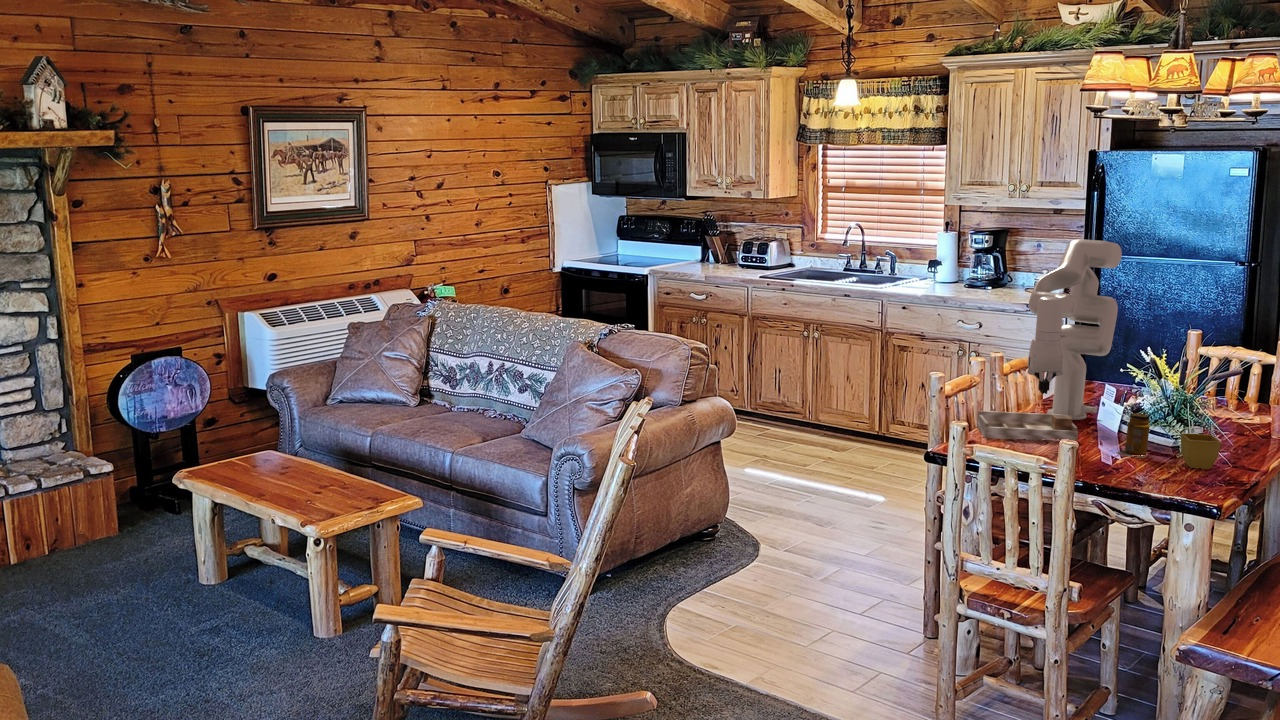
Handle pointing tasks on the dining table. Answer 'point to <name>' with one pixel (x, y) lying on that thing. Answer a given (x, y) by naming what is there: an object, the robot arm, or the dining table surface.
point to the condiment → (1137, 435)
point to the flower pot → (1199, 450)
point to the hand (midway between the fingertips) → (1043, 392)
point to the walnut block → (1061, 422)
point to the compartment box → (1021, 426)
